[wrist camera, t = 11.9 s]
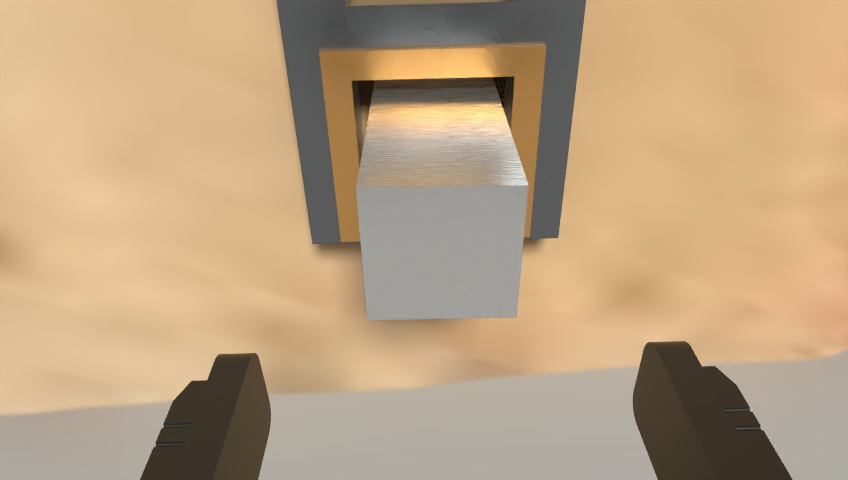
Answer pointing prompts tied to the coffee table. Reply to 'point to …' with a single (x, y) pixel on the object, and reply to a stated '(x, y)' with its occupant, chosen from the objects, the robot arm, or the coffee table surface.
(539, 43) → the grey peg board
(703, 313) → the coffee table surface
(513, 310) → the grey metal block
